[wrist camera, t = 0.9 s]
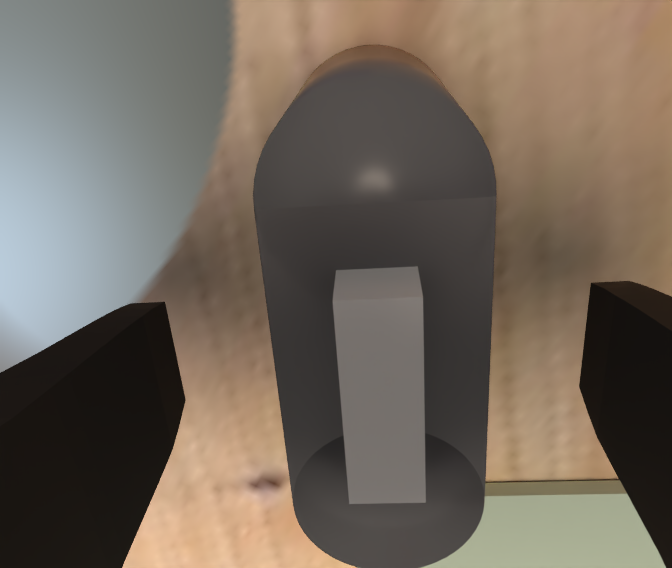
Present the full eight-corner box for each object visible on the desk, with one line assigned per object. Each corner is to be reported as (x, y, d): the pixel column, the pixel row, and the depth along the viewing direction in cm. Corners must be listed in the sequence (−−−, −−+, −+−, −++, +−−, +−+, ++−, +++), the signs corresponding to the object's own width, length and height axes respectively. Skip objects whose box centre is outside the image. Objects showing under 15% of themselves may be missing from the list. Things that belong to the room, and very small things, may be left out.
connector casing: (453, 38, 12) (518, 77, 7) (450, 408, 16) (491, 618, 11) (284, 51, 13) (220, 97, 7) (320, 412, 17) (297, 619, 11)
